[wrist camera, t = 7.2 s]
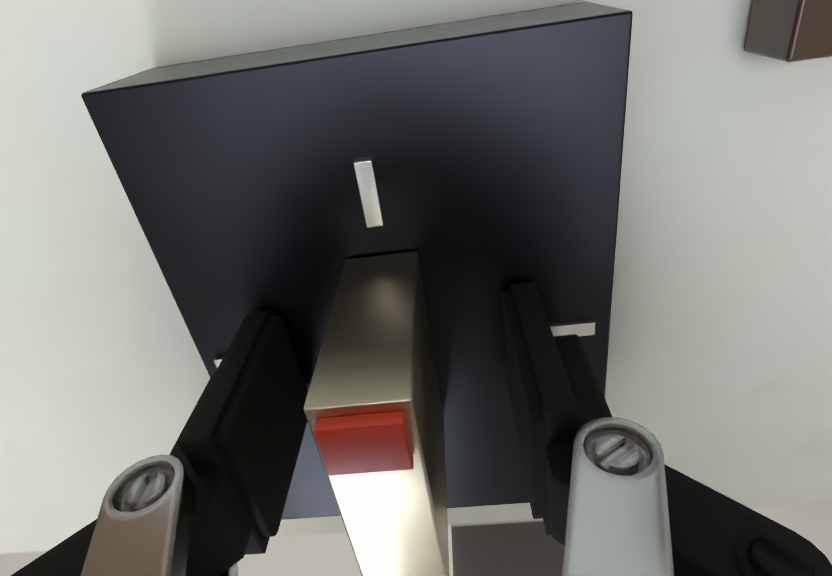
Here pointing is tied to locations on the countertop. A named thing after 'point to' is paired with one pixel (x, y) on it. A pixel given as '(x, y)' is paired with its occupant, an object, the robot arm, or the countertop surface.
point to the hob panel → (391, 199)
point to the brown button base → (790, 29)
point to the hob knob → (383, 418)
